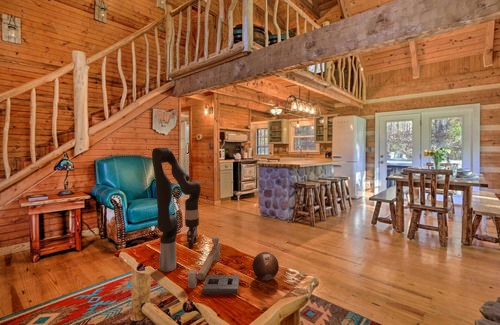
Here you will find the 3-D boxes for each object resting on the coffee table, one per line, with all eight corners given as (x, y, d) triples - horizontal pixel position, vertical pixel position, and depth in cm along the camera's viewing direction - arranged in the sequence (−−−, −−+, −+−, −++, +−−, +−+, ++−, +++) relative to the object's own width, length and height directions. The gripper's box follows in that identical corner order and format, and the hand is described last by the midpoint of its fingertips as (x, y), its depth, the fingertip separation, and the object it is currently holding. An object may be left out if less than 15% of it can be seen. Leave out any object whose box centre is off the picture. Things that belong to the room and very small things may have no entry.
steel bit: (188, 287, 135) (187, 273, 134) (189, 283, 139) (189, 269, 138) (195, 287, 135) (195, 273, 134) (197, 283, 139) (197, 269, 138)
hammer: (203, 265, 140) (219, 236, 168) (195, 265, 140) (213, 235, 169) (205, 289, 144) (221, 256, 172) (198, 288, 145) (215, 255, 173)
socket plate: (202, 294, 129) (202, 288, 128) (207, 280, 143) (207, 274, 142) (237, 294, 128) (237, 288, 128) (239, 280, 142) (239, 275, 142)
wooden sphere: (259, 288, 134) (259, 260, 134) (248, 275, 148) (248, 250, 147) (283, 282, 140) (283, 255, 140) (270, 270, 154) (270, 246, 153)
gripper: (188, 214, 147) (188, 241, 148) (181, 220, 133) (182, 251, 133) (201, 214, 147) (201, 241, 148) (196, 220, 133) (196, 250, 134)
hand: (192, 245), depth 141 cm, fingers open, 8 cm apart
